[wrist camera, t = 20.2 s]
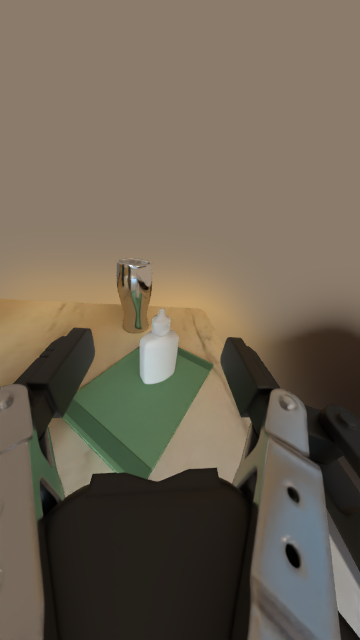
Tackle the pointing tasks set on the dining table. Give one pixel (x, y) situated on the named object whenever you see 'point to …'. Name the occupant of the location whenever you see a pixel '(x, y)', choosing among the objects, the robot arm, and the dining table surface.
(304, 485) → the robot arm
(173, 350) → the eye dropper bottle
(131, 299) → the beer glass
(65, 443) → the dining table surface
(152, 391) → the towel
